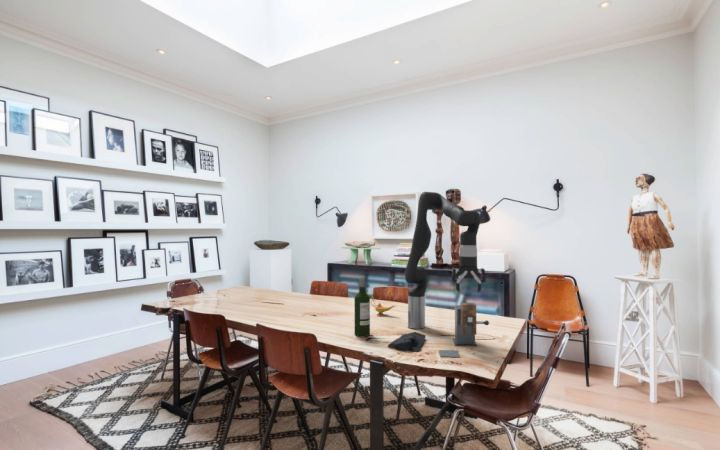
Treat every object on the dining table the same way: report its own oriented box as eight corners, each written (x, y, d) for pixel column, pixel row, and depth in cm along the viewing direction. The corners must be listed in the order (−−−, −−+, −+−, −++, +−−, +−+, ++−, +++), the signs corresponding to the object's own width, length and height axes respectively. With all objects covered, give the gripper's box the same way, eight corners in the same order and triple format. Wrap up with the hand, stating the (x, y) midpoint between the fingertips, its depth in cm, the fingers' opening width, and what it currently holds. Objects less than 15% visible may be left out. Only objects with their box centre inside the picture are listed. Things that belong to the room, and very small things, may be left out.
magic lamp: (393, 318, 222) (393, 300, 222) (367, 314, 232) (367, 296, 232) (398, 316, 227) (398, 298, 227) (373, 312, 237) (373, 295, 237)
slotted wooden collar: (462, 334, 162) (462, 304, 162) (461, 331, 166) (460, 302, 166) (476, 334, 161) (476, 305, 161) (474, 332, 165) (474, 303, 165)
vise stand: (458, 353, 160) (458, 314, 160) (452, 340, 179) (452, 305, 179) (496, 355, 158) (496, 315, 158) (487, 341, 177) (487, 306, 177)
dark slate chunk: (430, 340, 181) (430, 330, 181) (417, 354, 161) (417, 343, 161) (401, 336, 188) (401, 326, 188) (385, 349, 168) (385, 338, 168)
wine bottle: (364, 337, 183) (364, 277, 183) (351, 335, 188) (351, 276, 188) (372, 333, 190) (372, 275, 190) (359, 331, 194) (359, 274, 194)
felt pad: (440, 357, 156) (440, 356, 156) (439, 350, 164) (439, 349, 164) (459, 357, 155) (459, 356, 155) (457, 351, 163) (457, 350, 163)
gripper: (452, 255, 161) (453, 292, 161) (486, 256, 159) (486, 293, 159) (450, 254, 168) (451, 289, 168) (483, 254, 167) (483, 290, 167)
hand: (468, 291), depth 164 cm, fingers open, 8 cm apart
